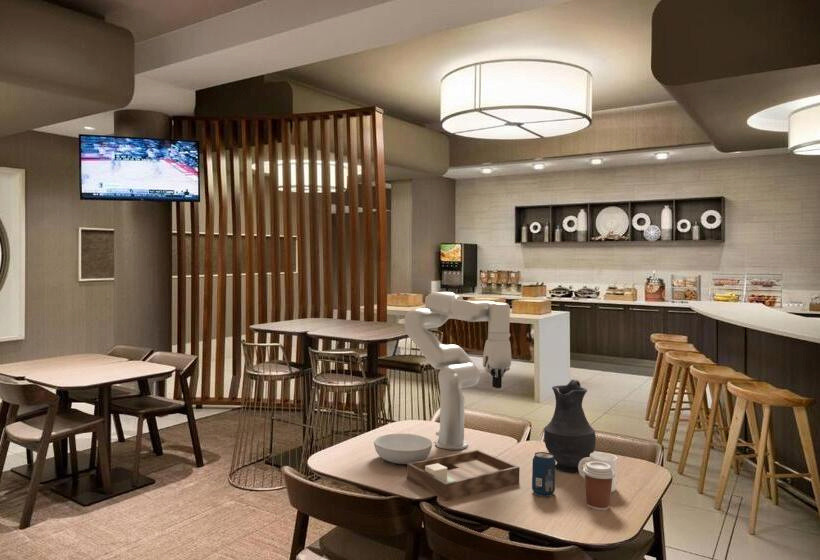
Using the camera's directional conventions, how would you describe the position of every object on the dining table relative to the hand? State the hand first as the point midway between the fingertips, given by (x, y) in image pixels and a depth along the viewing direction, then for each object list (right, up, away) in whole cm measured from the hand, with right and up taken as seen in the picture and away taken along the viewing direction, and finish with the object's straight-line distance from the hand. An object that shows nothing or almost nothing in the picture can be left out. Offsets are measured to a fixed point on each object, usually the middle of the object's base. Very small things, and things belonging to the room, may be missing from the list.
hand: (496, 387), depth 208 cm
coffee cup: (+24, -28, -38) cm, 53 cm away
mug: (+29, -28, -23) cm, 46 cm away
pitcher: (+25, -27, -5) cm, 38 cm away
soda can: (+10, -28, -29) cm, 41 cm away
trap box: (-14, -27, -20) cm, 36 cm away
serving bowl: (-34, -26, -1) cm, 43 cm away
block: (-23, -24, -26) cm, 43 cm away
